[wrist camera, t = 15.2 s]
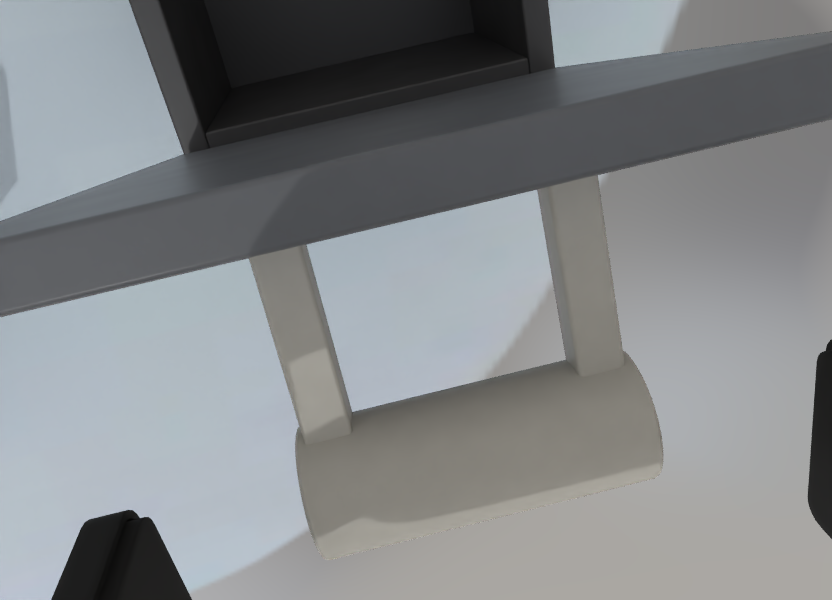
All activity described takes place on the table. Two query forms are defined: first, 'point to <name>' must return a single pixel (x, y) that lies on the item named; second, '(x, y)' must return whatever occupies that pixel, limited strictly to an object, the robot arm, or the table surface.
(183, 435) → the table surface
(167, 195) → the brewer lid
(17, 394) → the table surface
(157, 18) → the dark grey storage bin
